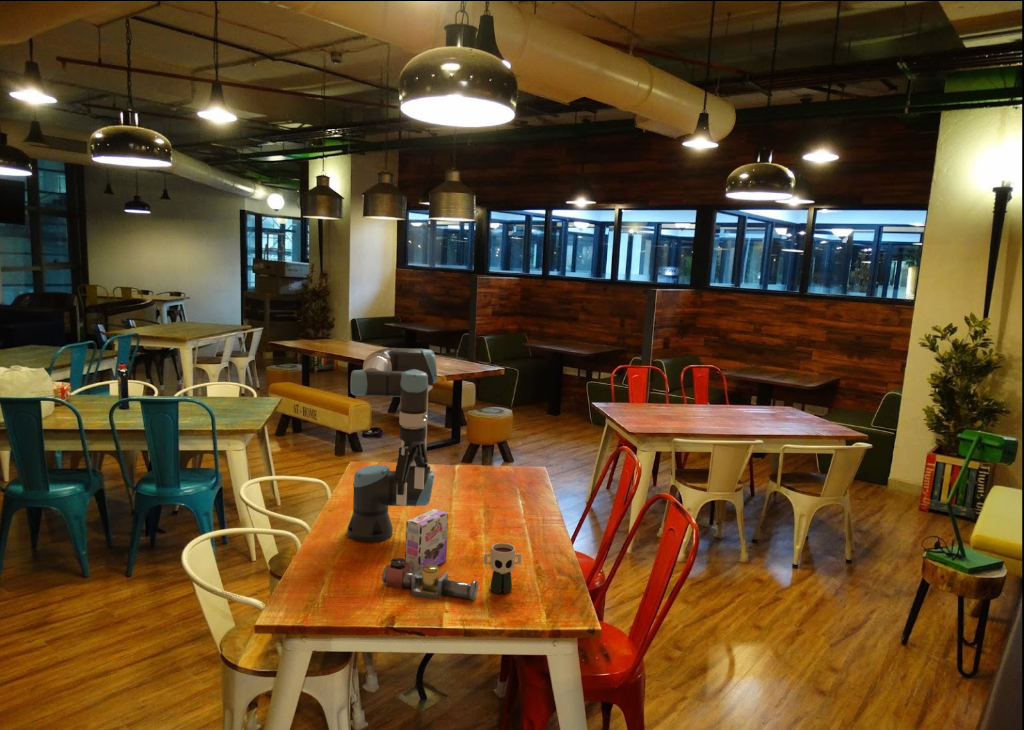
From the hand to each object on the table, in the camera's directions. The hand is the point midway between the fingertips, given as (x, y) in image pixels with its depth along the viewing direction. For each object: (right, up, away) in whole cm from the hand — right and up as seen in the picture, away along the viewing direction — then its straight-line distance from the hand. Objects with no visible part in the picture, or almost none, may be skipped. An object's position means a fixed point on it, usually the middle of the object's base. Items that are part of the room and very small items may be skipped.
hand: (410, 496), depth 202 cm
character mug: (+26, -28, +1) cm, 38 cm away
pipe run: (+6, -27, -2) cm, 27 cm away
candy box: (+3, -24, +13) cm, 28 cm away
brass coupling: (+6, -27, -2) cm, 27 cm away
